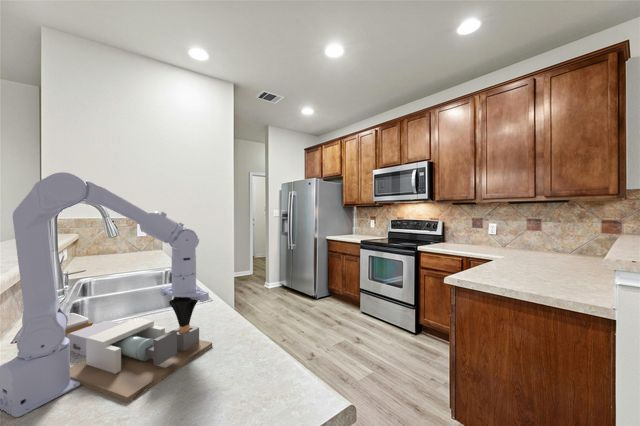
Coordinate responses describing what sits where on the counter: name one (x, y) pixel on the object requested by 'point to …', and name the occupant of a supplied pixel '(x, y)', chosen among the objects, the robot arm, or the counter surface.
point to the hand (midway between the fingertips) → (184, 325)
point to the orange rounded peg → (184, 328)
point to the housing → (110, 356)
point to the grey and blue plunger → (149, 347)
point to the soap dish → (76, 323)
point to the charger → (80, 335)
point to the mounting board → (133, 373)
